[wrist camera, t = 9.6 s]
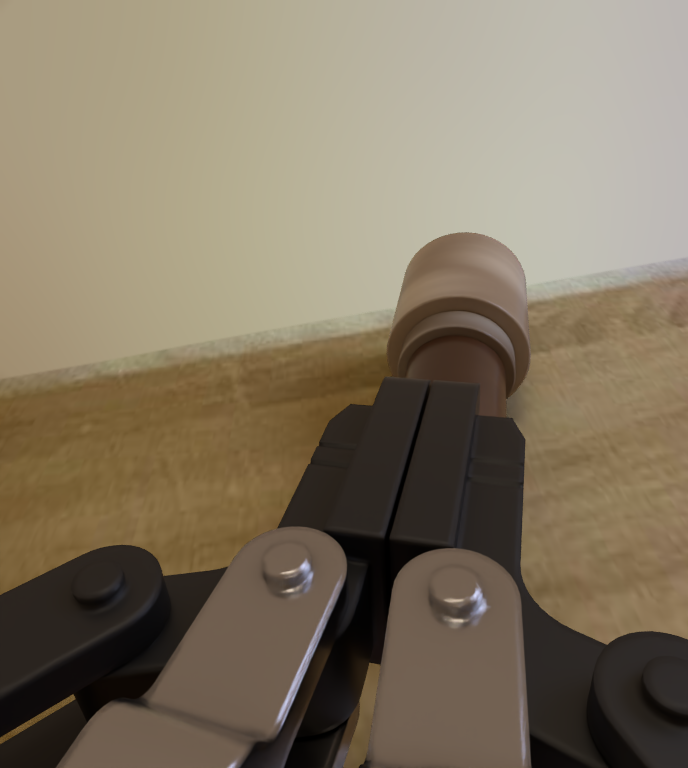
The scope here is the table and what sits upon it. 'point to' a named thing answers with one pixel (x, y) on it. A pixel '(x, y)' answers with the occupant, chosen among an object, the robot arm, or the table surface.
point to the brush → (463, 318)
